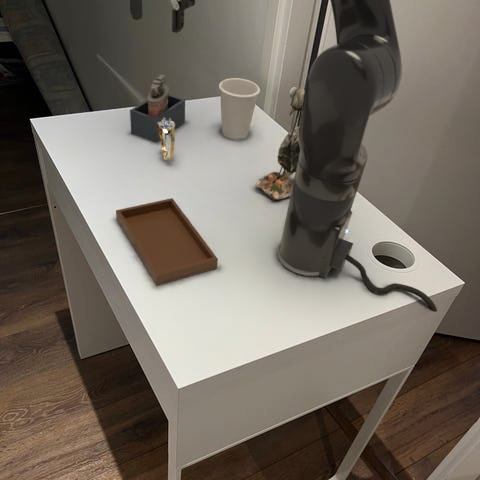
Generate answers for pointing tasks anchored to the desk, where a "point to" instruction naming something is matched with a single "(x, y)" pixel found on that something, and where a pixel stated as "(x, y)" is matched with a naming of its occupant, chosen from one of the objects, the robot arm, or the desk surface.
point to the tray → (166, 241)
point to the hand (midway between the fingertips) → (157, 25)
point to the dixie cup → (237, 106)
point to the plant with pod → (285, 158)
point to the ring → (167, 137)
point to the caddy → (156, 118)
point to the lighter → (158, 97)
